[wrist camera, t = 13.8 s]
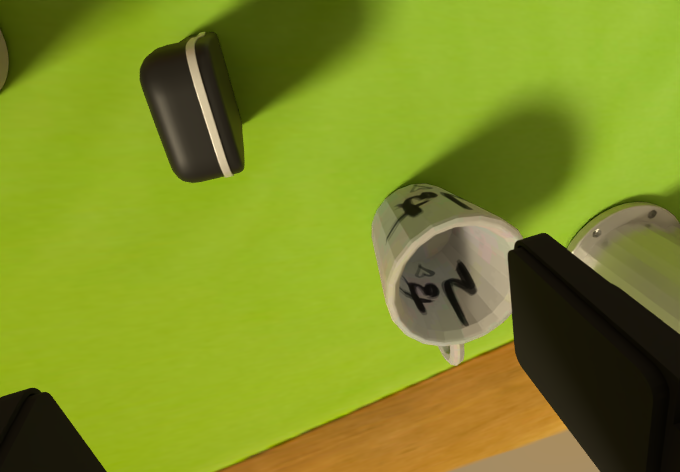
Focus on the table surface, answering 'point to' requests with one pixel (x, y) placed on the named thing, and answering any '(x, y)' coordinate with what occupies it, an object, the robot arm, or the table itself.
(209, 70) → the battery charger
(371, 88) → the table surface
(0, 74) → the travel mug
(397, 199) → the mug
